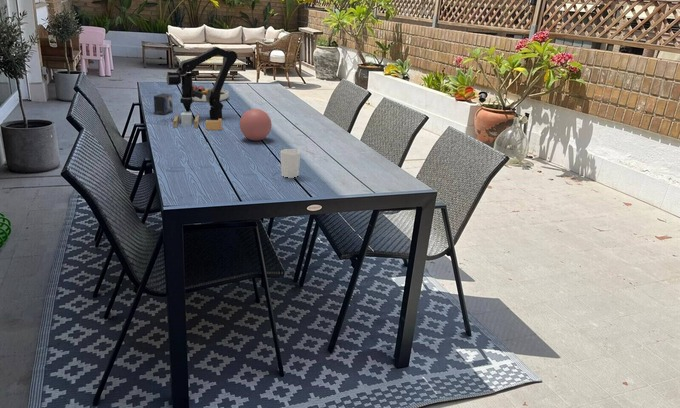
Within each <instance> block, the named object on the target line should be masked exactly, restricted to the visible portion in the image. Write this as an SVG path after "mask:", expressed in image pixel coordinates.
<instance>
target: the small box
mask: <svg viewBox="0 0 680 408" xmlns="http://www.w3.org/2000/svg"><path fill="white" fill-rule="evenodd" d="M153 105H154V115H161V116H165V115H168V114H171V113H173V111H174V109H173V107H174V106H173V94H172V93H171V94H169V93H159V94H155V95H153Z"/></svg>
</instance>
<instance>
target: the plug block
mask: <svg viewBox="0 0 680 408" xmlns="http://www.w3.org/2000/svg"><path fill="white" fill-rule="evenodd" d="M180 120H181V126H182V127H183V126H184V127H187V126H191V127H192V125H193V111H190V112H186V110H185V111H182V112H181V113H180Z"/></svg>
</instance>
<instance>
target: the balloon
mask: <svg viewBox="0 0 680 408" xmlns="http://www.w3.org/2000/svg"><path fill="white" fill-rule="evenodd" d="M239 129H240V131H241V133H242V135H243V136H244V137H245V138H246V139H248V140H249V141H250V140H251V141H255V142H256V141H261V140H265V138H267V137H268V136H269V134H270V133H271V130H272V120H271V117H270V115H268V113H267V112H265V110H262V109H259V108H251V109H248V110H247V111H245V112H243V114H242V115H241V117H240V120H239Z"/></svg>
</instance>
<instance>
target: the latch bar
mask: <svg viewBox="0 0 680 408" xmlns="http://www.w3.org/2000/svg"><path fill="white" fill-rule="evenodd" d="M222 123H223V118H222V119H217V120H205V130H208V131H214V130H215V131H216V130H217V131H222V130H223V129H222V128H223V125H222Z"/></svg>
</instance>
